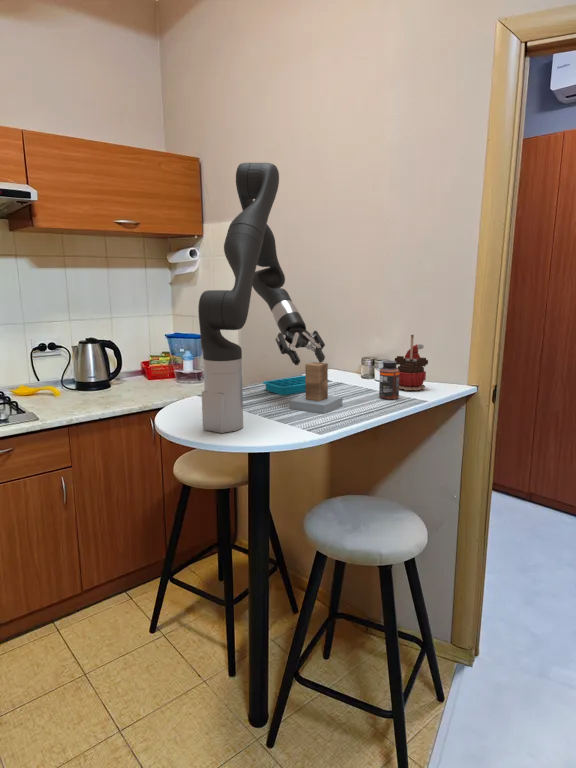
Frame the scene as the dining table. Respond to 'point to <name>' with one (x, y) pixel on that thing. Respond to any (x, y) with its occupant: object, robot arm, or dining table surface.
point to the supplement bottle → (389, 380)
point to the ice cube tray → (287, 385)
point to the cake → (412, 368)
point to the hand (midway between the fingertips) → (310, 362)
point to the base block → (316, 404)
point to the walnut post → (316, 381)
